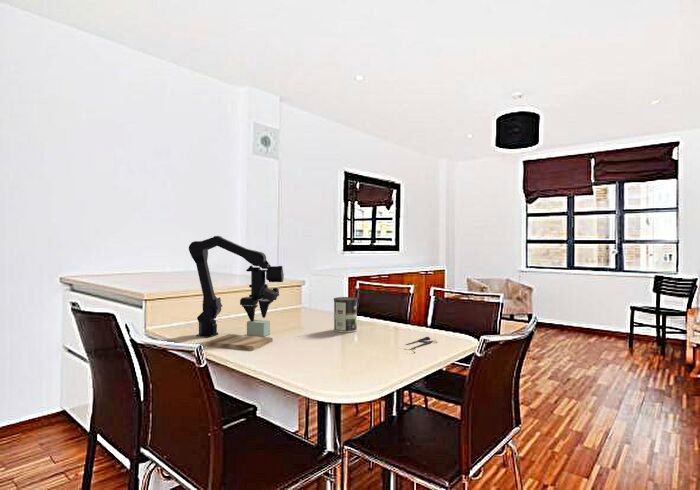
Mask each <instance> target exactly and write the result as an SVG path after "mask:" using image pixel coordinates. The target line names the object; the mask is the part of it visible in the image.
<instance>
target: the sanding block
mask: <svg viewBox="0 0 700 490" xmlns="http://www.w3.org/2000/svg"><path fill="white" fill-rule="evenodd" d="M270 335H271V320H263V319H254V321H253V322H251V321H250V320H248V321H246V336H257V337H268V336H270Z"/></svg>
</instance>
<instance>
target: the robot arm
mask: <svg viewBox="0 0 700 490" xmlns="http://www.w3.org/2000/svg"><path fill="white" fill-rule="evenodd" d="M216 247H219V248H220V249H221V248H222V249H223V250H226V251H228V252H230V253H232V254H234V255H237V256H239V257H241V258H243V259H244V260H245V261H246V262H248V263H249V264H251V265H250V266H248V268H247V269H246V270H245V271H246V272H250V274H251V275H250V276H251V277H250V279H251V281H250V282H251V283H250V284H249V285H248V288H250V294H248V296H245V297H241V298H240V300H239V305H240V306H241V307H243V309H244V311H245V312H246V314H247V316H248V319H249V321H251V322H253V321H254V320H255V313H256V308H257V307H258V306H259V310H260V313H261V317H262V318H263V319H264V318H266V317H267V313H268V310H269V307H270V305H271V304H272V303H273V302H274V301H277V300H278V297H279V296H280V290H279V288H278V287H273V288H269V285H268V284H267V283H266V280H267V281H268V282H269V283H283V282H284V277H285V276H284V274H285V273H284V270H283V269H284V268H283V265H276V266H275V265H274V266H271V264H270V262H269V261H267V257H266V254H265V253H264V252H263V251H258V250H254V249H250V248H246V247H244V246H242V245H239V244H238V243H235V242H233V241H231V240H228V239H226V238H224V237H222V236H220V235H214V236H213V237H209V238H207V239H204V240H197V241H196V240H195V241H192V242H190V244H189V246H188V252H189V254H190V256H191V259H193V261H194V263H195V265H196V269H197V270H196V271H197V275H198V279H199V283H200V287H201V291H202V295H203V297H202V298H203V299H202V311H201V313H200V314H199V315H198V316H196V317H197V318H196V319H197V322H198V333H197V334H196V337H204V338H205V337H206V338H210V337H214V336H216V335H219V332H217V331H218V324H217V320H216V319H217V317H218V315H219V314H221V312H222V307H223V304H222V301H221V297H217V296H216V294H215V290H214V287H213V281H212V277H211V273H210V269H209V268H210V267H209V265H208V257H209V250H210V249H214V248H216Z"/></svg>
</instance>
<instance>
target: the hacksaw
mask: <svg viewBox="0 0 700 490" xmlns="http://www.w3.org/2000/svg"><path fill="white" fill-rule="evenodd" d="M417 343H421V344H418V345H416V346H413V347H411V348H409V349H407V348H404V350H405V351H412V353H411V354H416V351H415V350H416V348H420V347H424V346H427V345H430V344H432V343H434V340H431V338H430V337H429V336H425V337H423V338H420V339H417V340H415V341H412V342H408V343H405V344H404V346H409V345H413V344H417ZM436 343H438V341H437V340H435V344H436ZM398 349H401V348H399V347H398ZM406 354H409V353H408V352H406Z"/></svg>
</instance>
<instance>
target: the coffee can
mask: <svg viewBox="0 0 700 490" xmlns="http://www.w3.org/2000/svg"><path fill="white" fill-rule="evenodd" d="M357 303H358V298H357V297H354V296H353V297H351V296H339V297H333V331H334V332H336V333H345V334H346V333H354V332H357V331H358V328H357V327H358V322H357V321H358V319H357V316H358V315H357V314H358V310H357V307H358V304H357Z"/></svg>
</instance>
